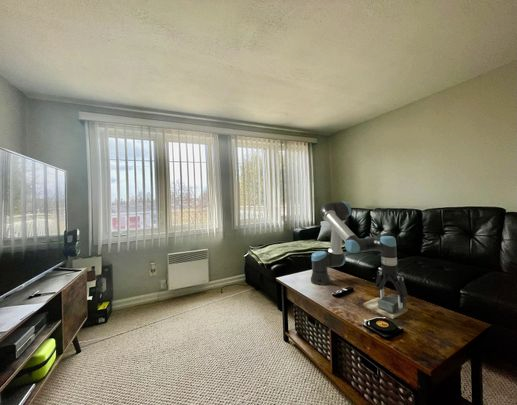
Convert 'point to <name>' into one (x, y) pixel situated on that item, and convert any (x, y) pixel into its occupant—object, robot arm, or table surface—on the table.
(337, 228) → the robot arm
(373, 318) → the table surface
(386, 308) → the stone block
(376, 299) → the board
